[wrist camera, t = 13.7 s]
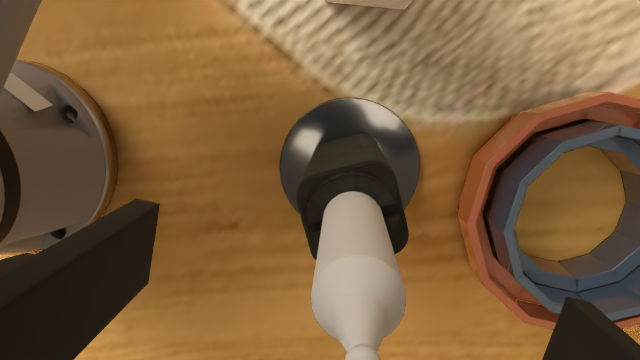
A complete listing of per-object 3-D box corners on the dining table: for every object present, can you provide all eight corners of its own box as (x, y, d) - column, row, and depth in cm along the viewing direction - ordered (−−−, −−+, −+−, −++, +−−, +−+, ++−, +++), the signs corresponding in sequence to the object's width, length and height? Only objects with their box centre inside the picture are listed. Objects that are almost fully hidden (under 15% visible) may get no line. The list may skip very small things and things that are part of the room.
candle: (388, 192, 35) (496, 448, 10) (326, 207, 35) (286, 485, 11) (373, 129, 34) (453, 245, 9) (309, 145, 34) (223, 297, 10)
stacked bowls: (428, 275, 36) (446, 315, 30) (489, 73, 33) (524, 70, 26) (625, 320, 36) (685, 369, 30) (708, 122, 33) (795, 131, 26)
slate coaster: (268, 216, 36) (267, 218, 36) (296, 83, 34) (295, 83, 33) (398, 246, 36) (399, 248, 35) (435, 114, 34) (436, 115, 33)
